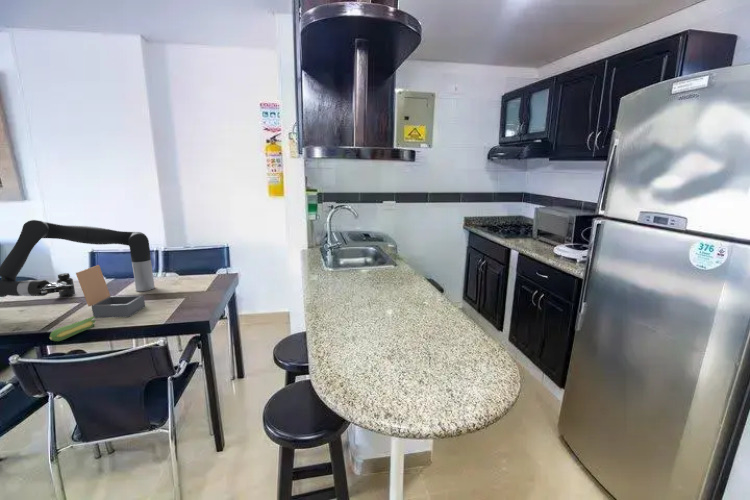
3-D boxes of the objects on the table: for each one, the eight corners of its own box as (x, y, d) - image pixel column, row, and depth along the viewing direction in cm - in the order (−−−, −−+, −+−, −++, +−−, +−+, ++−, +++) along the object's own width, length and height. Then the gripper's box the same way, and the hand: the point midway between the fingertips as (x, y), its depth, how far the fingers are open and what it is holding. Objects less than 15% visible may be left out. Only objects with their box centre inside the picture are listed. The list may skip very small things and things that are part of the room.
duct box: (112, 307, 177) (110, 296, 176) (145, 306, 178) (143, 295, 177) (93, 317, 164) (91, 305, 163) (129, 316, 165) (127, 304, 164)
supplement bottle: (78, 293, 197) (74, 273, 194) (64, 297, 190) (60, 276, 188) (70, 292, 199) (66, 272, 196) (56, 296, 193) (52, 275, 190)
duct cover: (110, 295, 176) (108, 296, 176) (99, 264, 172) (97, 265, 172) (90, 306, 163) (88, 306, 162) (77, 272, 159) (75, 273, 159)
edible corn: (43, 333, 139) (51, 331, 138) (93, 315, 158) (100, 313, 157) (48, 345, 140) (56, 343, 139) (97, 325, 159) (104, 324, 158)
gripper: (19, 284, 159) (59, 284, 160) (44, 276, 172) (81, 275, 173) (22, 300, 160) (63, 299, 161) (47, 291, 173) (84, 290, 174)
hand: (72, 287), depth 167 cm, fingers closed
